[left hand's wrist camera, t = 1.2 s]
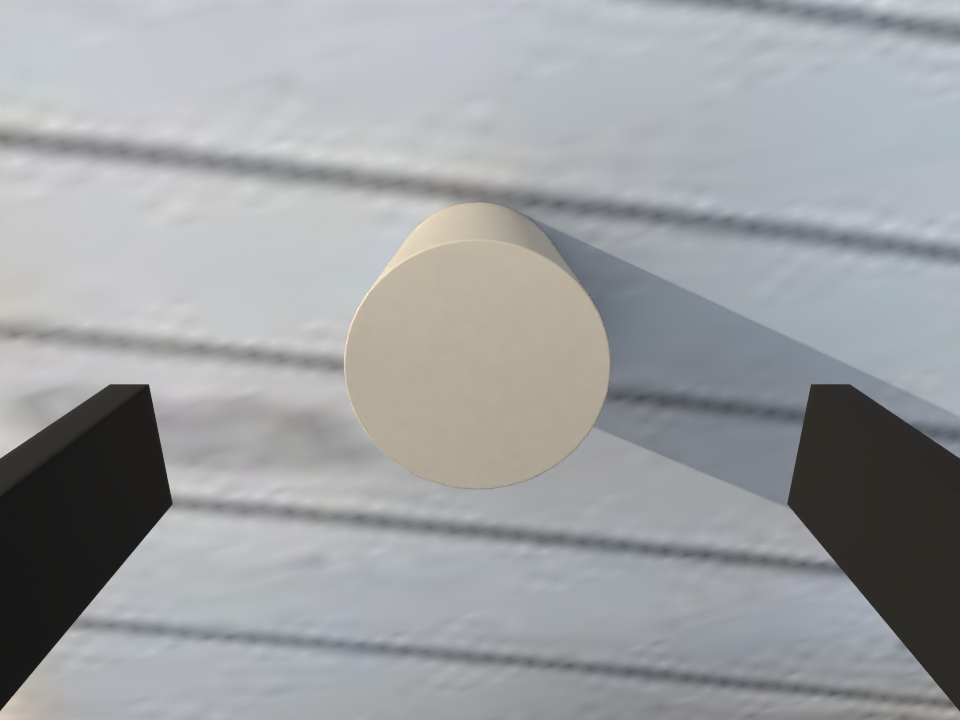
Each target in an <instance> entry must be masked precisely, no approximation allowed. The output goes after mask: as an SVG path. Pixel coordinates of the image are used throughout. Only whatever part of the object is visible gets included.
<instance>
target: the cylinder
mask: <svg viewBox="0 0 960 720" xmlns="http://www.w3.org/2000/svg"><path fill="white" fill-rule="evenodd" d="M344 373H345V381H346V387H347V391H348V395H349V399H350V402H351V405H352V407H353V409H354V412H355V414H356V417H357V418H358V420H359V422H360V424H361V425H362V427H363V429H364V430H365V432H366V433H367V434H368V436H369V437H370V438H371V440H372V441H373V442H374V443H375V445H376V446H377V447H378V448H379V449H380V450H381V451H382V452H383V453H384V454H385V455H387V456H388V457H389V458H390V459H392V460H393V461H394V462H396V463H397V464H398V465H400V466H401V467H403V468H405V469H406V470H408V471H410V472H411V473H413V474H415V475H417V476H420V477H422V478H424V479H426V480H429V481H432V482H435V483H438V484H442V485H446V486H451V487H456V488H466V489H492V488H498V487H505V486H509V485H513V484H517V483H520V482H524V481H526V480H529V479H531V478H534V477H536V476H538V475H540V474H542V473H544V472H546V471H547V470H549V469H551V468H553V467H554V466H555V465H557V464H558V463H560V462H561V461H562V460H564V459H565V458H566V457H567V456H568V455H569V454H571V453H572V452H573V451H574V450H575V449H576V448H577V447H578V446H579V444H580V443H581V442H582V441H583V440H584V439H585V437H586V436H587V435H588V433H589V432H590V430H591V429H592V427H593V426H594V424H595V422H596V421H597V418H598V416H599V414H600V412H601V410H602V408H603V405H604V402H605V399H606V396H607V392H608V387H609V381H610V374H611V355H610V346H609V340H608V337H607V333H606V329H605V326H604V323H603V321H602V318H601V316H600V313H599V311H598V309H597V308H596V306H595V304H594V303H593V301H592V299H591V297H590V296H589V294H588V293H587V292H586V290H585V289H584V287H583V286H582V285H581V283H580V282H579V280H578V279H577V277H576V276H575V275H574V273H573V272H572V270H571V269H570V268H569V266H568V265H567V263H566V262H565V261H564V259H563V258H562V256H561V255H560V253H559V252H558V251H557V249H556V248H555V246H554V245H553V244H552V242H551V241H550V239H549V238H548V237H547V236H546V234H545V233H544V232H543V231H542V230H541V229H540V228H539V227H538V226H537V225H536V224H535V223H534V222H533V221H531V220H530V219H528V218H527V217H526V216H524V215H522V214H520V213H519V212H517V211H515V210H512V209H510V208H507V207H504V206H501V205H496V204H492V203H481V202H477V203H465V204H459V205H455V206H452V207H449V208H446V209H443V210H441V211H439V212H437V213H435V214H433V215H432V216H430V217H429V218H427V219H426V220H424V221H423V222H422V223H421V224H420V225H419V226H417V227H416V228H415V229H414V231H413V232H412V233H411V234H410V235H409V236H408V238H407V239H406V240H405V242H404V243H403V245H402V246H401V247H400V249H399V250H398V252H397V253H396V254H395V256H394V257H393V258H392V260H391V261H390V263H389V264H388V265H387V267H386V268H385V270H384V271H383V272H382V274H381V275H380V276H379V278H378V279H377V281H376V282H375V283H374V285H373V286H372V288H371V289H370V290H369V292H368V293H367V295H366V296H365V298H364V299H363V301H362V302H361V304H360V305H359V307H358V310H357V312H356V314H355V316H354V318H353V320H352V323H351V326H350V329H349V333H348V336H347V341H346V347H345V354H344Z"/></svg>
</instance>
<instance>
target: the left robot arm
mask: <svg viewBox="0 0 960 720" xmlns="http://www.w3.org/2000/svg"><path fill="white" fill-rule="evenodd" d="M171 505H172V499H171V494H170V489H169V483H168V478H167V473H166V468H165V463H164V458H163V453H162V448H161V443H160V438H159V433H158V428H157V423H156V418H155V413H154V408H153V403H152V398H151V393H150V388H149V384H110V385H109V386H107V387H106V388H104V389H103V390H101V391H100V392H98V393H97V394H95V395H94V396H92V397H91V398H89V399H88V400H86V401H85V402H83V403H82V404H80V405H79V406H77V407H76V408H75V409H73V410H72V411H70V412H69V413H67V414H66V415H64V416H63V417H61V418H60V419H58V420H57V421H55V422H54V423H52V424H51V425H49V426H48V427H46V428H45V429H43V430H42V431H40V432H39V433H37V434H36V435H35V436H33V437H32V438H30V439H29V440H27V441H26V442H24V443H23V444H21V445H20V446H18V447H17V448H15V449H14V450H12V451H11V452H9V453H8V454H6V455H5V456H3V457H2V458H0V711H1V709H2V708H3V707H4V706H5V705H6V703H7V702H8V701H9V700H10V699H11V697H12V696H13V695H14V694H15V693H16V691H17V690H18V689H19V688H20V687H21V685H22V684H23V683H24V682H25V681H26V679H27V678H28V677H29V676H30V675H31V673H32V672H33V671H34V670H35V669H36V667H37V666H38V665H39V664H40V663H41V661H42V660H43V659H44V658H45V657H46V655H47V654H48V653H49V652H50V651H51V649H52V648H53V647H54V646H55V645H56V643H57V642H58V641H59V640H60V639H61V637H62V636H63V635H64V634H65V633H66V631H67V630H68V629H69V628H70V627H71V625H72V624H73V623H74V622H75V621H76V619H77V618H78V617H79V616H80V615H81V613H82V612H83V611H84V610H85V609H86V607H87V606H88V605H89V604H90V603H91V601H92V600H93V599H94V598H95V597H96V595H97V594H98V593H99V592H100V591H101V589H102V588H103V587H104V586H105V585H106V583H107V582H108V581H109V580H110V579H111V577H112V576H113V575H114V574H115V573H116V571H117V570H118V569H119V568H120V567H121V565H122V564H123V563H124V562H125V561H126V559H127V558H128V557H129V556H130V555H131V553H132V552H133V551H134V550H135V549H136V547H137V546H138V545H139V544H140V543H141V541H142V540H143V539H144V538H145V537H146V535H147V534H148V533H149V532H150V531H151V529H152V528H153V527H154V526H155V525H156V523H157V522H158V521H159V520H160V519H161V517H162V516H163V515H164V514H165V513H166V511H167V510H168V509H169V508H170V507H171ZM788 505H789V507H790V508H791V509H792V510H793V511H794V513H795V514H796V515H797V516H798V517H799V519H800V520H801V521H802V522H803V523H804V525H805V526H806V527H807V528H808V529H809V531H810V532H811V533H812V534H813V535H814V537H815V538H816V539H817V540H818V541H819V543H820V544H821V545H822V546H823V547H824V549H825V550H826V551H827V552H828V553H829V555H830V556H831V557H832V558H833V559H834V561H835V562H836V563H837V564H838V565H839V567H840V568H841V569H842V570H843V571H844V573H845V574H846V575H847V576H848V577H849V579H850V580H851V581H852V582H853V583H854V585H855V586H856V587H857V588H858V589H859V591H860V592H861V593H862V594H863V595H864V597H865V598H866V599H867V600H868V601H869V603H870V604H871V605H872V606H873V607H874V609H875V610H876V611H877V612H878V613H879V615H880V616H881V617H882V618H883V619H884V621H885V622H886V623H887V624H888V625H889V627H890V628H891V629H892V630H893V631H894V633H895V634H896V635H897V636H898V637H899V639H900V640H901V641H902V642H903V643H904V645H905V646H906V647H907V648H908V649H909V651H910V652H911V653H912V654H913V655H914V657H915V658H916V659H917V660H918V661H919V663H920V664H921V665H922V666H923V667H924V669H925V670H926V671H927V672H928V673H929V675H930V676H931V677H932V678H933V679H934V681H935V682H936V683H937V684H938V685H939V687H940V688H941V689H942V690H943V691H944V693H945V694H946V695H947V696H948V697H949V699H950V700H951V701H952V702H953V703H954V705H955V706H956V707H957V708H958V709H959V711H960V458H958V457H957V456H955V455H954V454H952V453H951V452H949V451H948V450H946V449H945V448H943V447H942V446H940V445H939V444H937V443H936V442H934V441H933V440H931V439H930V438H928V437H927V436H925V435H924V434H923V433H921V432H920V431H918V430H917V429H915V428H914V427H912V426H911V425H909V424H908V423H906V422H905V421H903V420H902V419H900V418H899V417H897V416H896V415H894V414H893V413H891V412H890V411H888V410H887V409H885V408H884V407H883V406H881V405H880V404H878V403H877V402H875V401H874V400H872V399H871V398H869V397H868V396H866V395H865V394H863V393H862V392H860V391H859V390H857V389H856V388H854V387H853V386H851V385H850V384H811V388H810V393H809V398H808V403H807V408H806V413H805V418H804V423H803V428H802V433H801V438H800V443H799V448H798V453H797V458H796V463H795V468H794V473H793V478H792V483H791V488H790V494H789V499H788Z"/></svg>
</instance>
